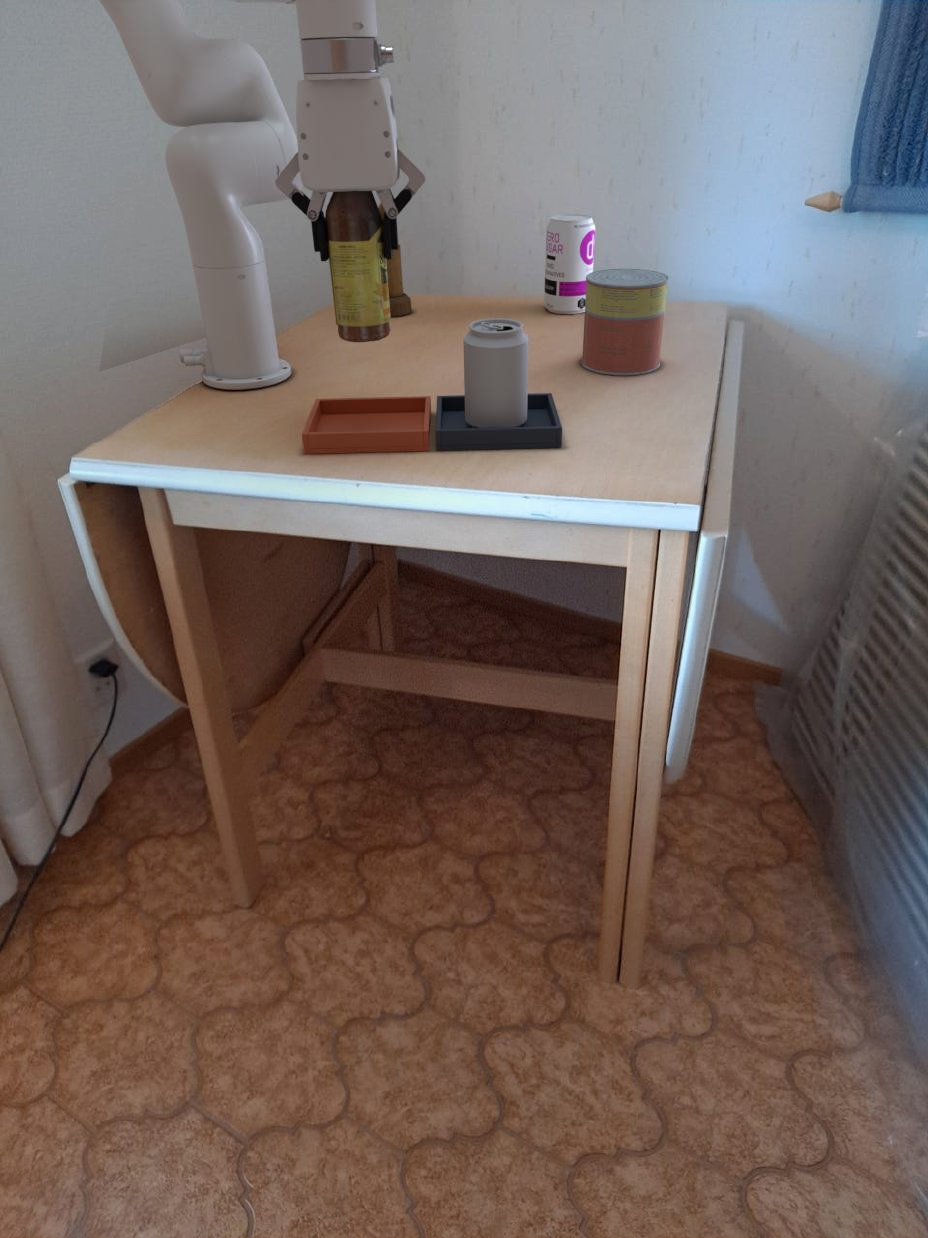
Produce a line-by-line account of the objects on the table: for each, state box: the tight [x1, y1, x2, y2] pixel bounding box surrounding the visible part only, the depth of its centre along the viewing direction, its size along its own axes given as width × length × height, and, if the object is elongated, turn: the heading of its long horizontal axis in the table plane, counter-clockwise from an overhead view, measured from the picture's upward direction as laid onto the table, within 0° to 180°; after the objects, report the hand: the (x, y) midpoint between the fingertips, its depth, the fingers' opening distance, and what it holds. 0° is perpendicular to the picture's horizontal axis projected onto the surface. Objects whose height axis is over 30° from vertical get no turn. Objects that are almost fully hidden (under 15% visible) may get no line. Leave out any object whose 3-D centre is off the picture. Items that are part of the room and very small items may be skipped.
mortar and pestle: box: [378, 202, 412, 317], centre depth 149 cm, size 7×6×18 cm
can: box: [462, 317, 530, 428], centre depth 101 cm, size 8×8×12 cm
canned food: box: [581, 268, 670, 377], centre depth 122 cm, size 11×11×12 cm
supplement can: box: [543, 213, 596, 315], centre depth 149 cm, size 8×8×15 cm
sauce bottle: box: [324, 191, 392, 343], centre depth 93 cm, size 6×6×20 cm
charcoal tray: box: [435, 392, 563, 452], centre depth 104 cm, size 14×12×2 cm
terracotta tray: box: [301, 395, 432, 455], centre depth 104 cm, size 14×12×2 cm
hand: (357, 256), depth 94 cm, fingers closed on sauce bottle, 6 cm apart
